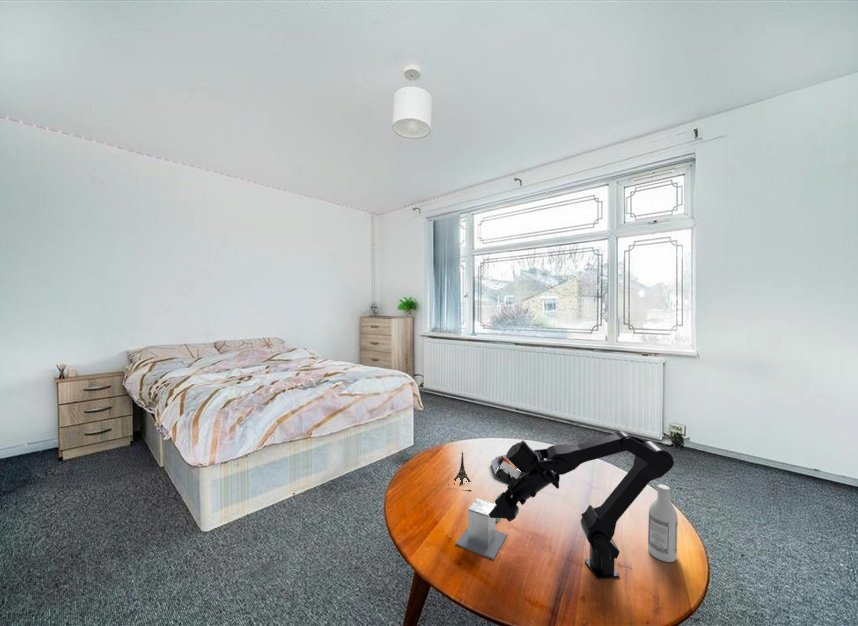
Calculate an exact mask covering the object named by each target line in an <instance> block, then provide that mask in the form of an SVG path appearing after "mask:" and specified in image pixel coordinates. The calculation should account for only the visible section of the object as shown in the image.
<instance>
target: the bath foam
mask: <svg viewBox="0 0 858 626" xmlns="http://www.w3.org/2000/svg"><path fill="white" fill-rule="evenodd" d="M670 495H671V488H670V487H669V486H668V485H665V484H663V483H662V484H661V483H660V484H658V485H657V497H656V498H655V499H654V500H653V501H652V502H651V504H650V505H649V508H648V525H647V526H648V529H647V530H648V531H647V550H648V552H649V554H651V555H652V556H653V557H654V558H656V559H657V560H660V561H663V562H664V563H673V562H675V561H676V560H677V554H678V553H677V551H678V523H679V522H678V513H677V510H676V508H675V507H674V505H673V503H672V502H671V501H670V500H671V499H670Z"/></svg>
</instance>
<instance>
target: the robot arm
mask: <svg viewBox="0 0 858 626" xmlns="http://www.w3.org/2000/svg"><path fill="white" fill-rule="evenodd" d="M623 452H628V453H630V454H632V455H634V459H633V464H632V467H631V468H630V470H629V471H628V472H627V473H626V474H625V475H624V477H623V478H622V479H621V481H619V483H618V484H617V485H616V487H615V488H614V489H613V490H612V492H611V493H610V494H609V496H607V498H606V499H605V500H604V501H603V502H602V504H601V505H599V506H597V507H593V506H592V505H591V504H589V505H588V507H587V509H586V510H585V511H584V512H583V513H581V515H580V516H581V519H580V526H581V529H582V530H583V533H584V535H585V537H586V539H587V542H588V544H589V558H584V563H586V566H588V568H589V570H590V571H591V572H592V573H593V574H594V576H595V577H596V578H597V579H607V578H608V579H610V578H620V573H619V571H618V570H617V569H616V568H615V562H616V561H615V560H617V559H618V557H619V556H620V550H619V548H618V546H617V545H616V542H615V541H614V539H613V538H614V535H615V533H616V527H617V522H618V521H619V519H620V518H621V517H622V516H623V515H624V514H625V512H626V511H627V509H629V507H630V506H631V505H632V504H633V502H634V501H636V499H638V496H640V495H641V493H642V491H644V490H645V488H646V487H647V486H648V484H649V483H650V482H652V481H654V480H658V479H660V478H662V477H664V476H665V475H666V474H668V472H670V471H671V470H672V469H673V467H674V466H675V461H674V457H673V456H672V454H671V453H670V452H668V451H667V450H666V449H665V448H664V447H662V446H661V445H659V444H658V443H657V442H655V441H646V440H643V439H642V438H639V437H638V436H635V435H632V434H629V433H627V432H626V431H622V430H621V431H620V430H619V431H617V432H616V433H613V434H610V435H607V436H603V437H600V438H596V439H592V440H589V441H586V442H582V443H577V444H553V445H551V446H548V447H547V448H542V449H534V450H533V449H532V448H531V447H530V446H529V445H528V444H527V442H526V441H525V440H524V439H523V440H521V441H520V442H517V443H515V444H513V445H512V446H511V447H510V448H509V449H508V451H507V453H505V455H506V458H507V459H508V460H509V461H510V462H511V463H512V464H513V465H514V466H515V467H517V468H518V469H519V470H520V471H521V472H520V471H517V470H516V469H515V468H514V467H512V466H511V465H510V464H508V463H507V462H503V463H502V464H501V465H500V466H499V468H498V470H497V472H496V474H495V477H497V479H498V480H499V481H501V482H502V483H503V484H506V485H507V486H506V487H507V489H506V490H505V491H503V492H501V493H500V494H498V496H497V497H496V498H495V500H494V504H496V506H495V507H494V508H493V510H492V511H491V512H490V513H489V516H490V518H500V519H504V520H507V521H508V522H510V523H511V522H512V521H513V520H515V519H516V518H517V516H518V514H519V512H520V511H519V510H520V507H519V506H518V505H517V504H518V503H520V505H521V506H523V505H525V504H526V502H527V500H529V499H530V498H532V499H533V498H535V497H536V496H537V494H538V493H539V492H540V491H541V490H543V489H544V488H546V487H547V486H550V484H552V486H553V487H555V488H556V489H559V488H560V480H561V479H560V478H561V477H560V476H561V475H566V474H568V473H570V472H572V471H575V470H576V469H577V468H579V466H580V465H581V464H583V463H588V462H590V461H595V460H598V459H601V458H604V457H610V456H613V455H617V454H619V453H623Z"/></svg>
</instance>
